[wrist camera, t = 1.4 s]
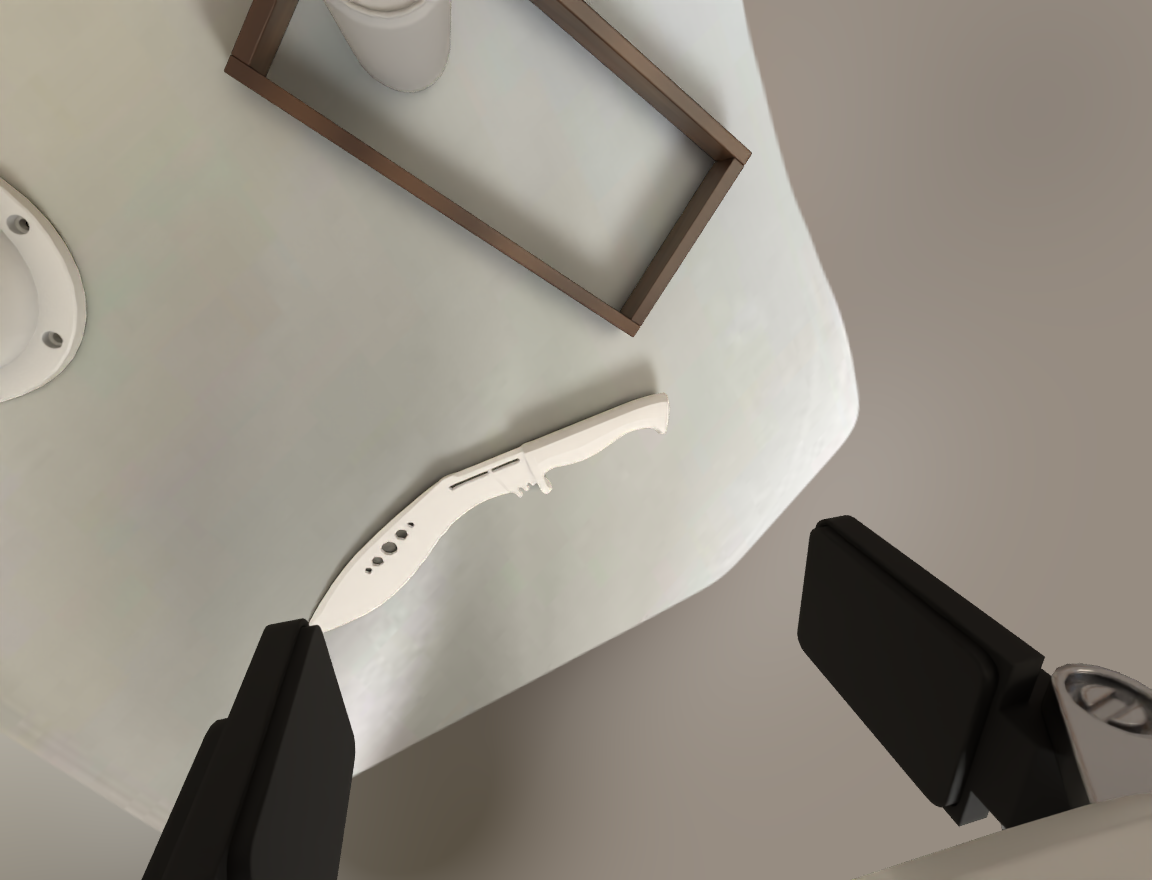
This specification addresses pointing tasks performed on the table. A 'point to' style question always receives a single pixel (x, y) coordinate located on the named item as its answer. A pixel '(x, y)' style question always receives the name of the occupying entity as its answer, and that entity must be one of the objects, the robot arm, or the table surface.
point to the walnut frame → (624, 60)
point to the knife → (472, 505)
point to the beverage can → (397, 38)
